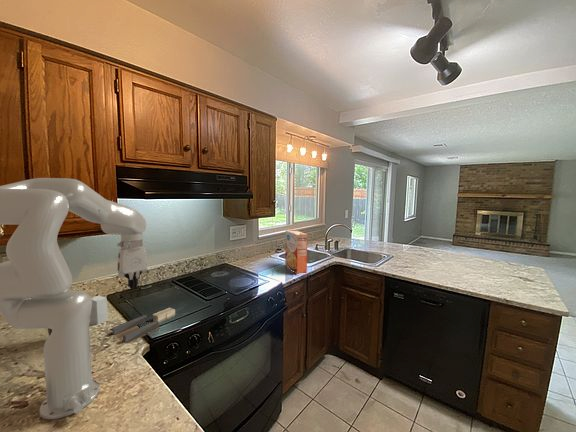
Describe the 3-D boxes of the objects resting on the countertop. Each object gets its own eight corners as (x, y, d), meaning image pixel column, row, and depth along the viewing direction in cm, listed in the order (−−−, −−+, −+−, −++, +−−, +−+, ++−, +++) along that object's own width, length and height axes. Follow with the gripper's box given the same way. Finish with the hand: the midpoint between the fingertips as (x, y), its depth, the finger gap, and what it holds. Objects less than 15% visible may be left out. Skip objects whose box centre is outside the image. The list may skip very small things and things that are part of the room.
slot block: (160, 331, 104) (160, 322, 104) (127, 347, 93) (126, 337, 93) (143, 322, 111) (143, 314, 110) (111, 336, 100) (110, 327, 99)
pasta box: (285, 266, 200) (285, 230, 197) (294, 265, 203) (294, 229, 200) (296, 275, 179) (297, 234, 176) (306, 274, 182) (307, 234, 179)
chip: (166, 321, 111) (166, 313, 111) (158, 325, 108) (158, 316, 108) (161, 318, 113) (161, 310, 113) (153, 322, 110) (152, 314, 110)
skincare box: (108, 323, 110) (107, 297, 109) (97, 327, 106) (96, 301, 105) (100, 320, 112) (99, 295, 111) (89, 324, 109) (88, 298, 108)
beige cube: (175, 317, 115) (175, 309, 114) (167, 321, 111) (166, 313, 111) (170, 315, 117) (169, 307, 116) (162, 319, 113) (161, 310, 113)
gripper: (115, 248, 92) (116, 295, 93) (155, 242, 105) (156, 284, 106) (107, 245, 96) (108, 291, 98) (146, 241, 109) (147, 281, 110)
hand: (133, 287), depth 102 cm, fingers closed
